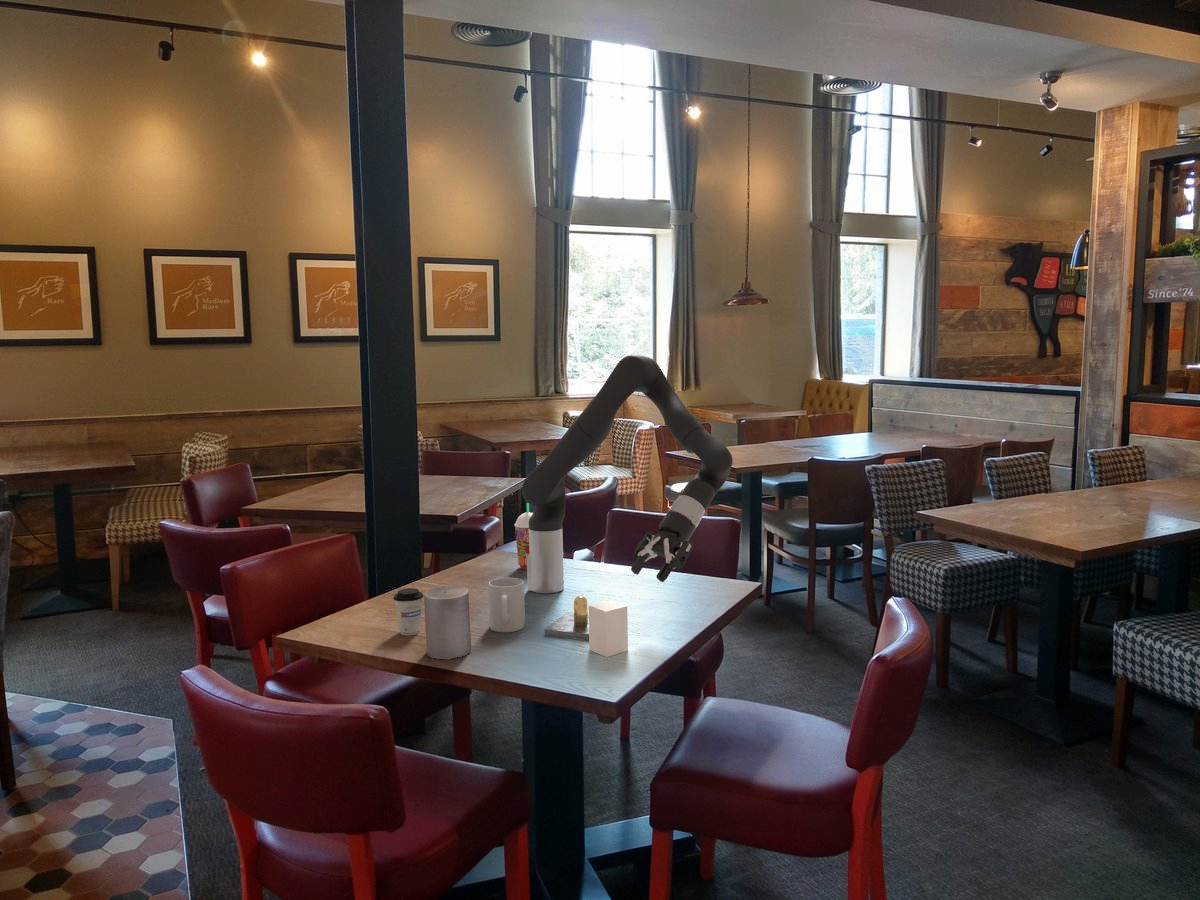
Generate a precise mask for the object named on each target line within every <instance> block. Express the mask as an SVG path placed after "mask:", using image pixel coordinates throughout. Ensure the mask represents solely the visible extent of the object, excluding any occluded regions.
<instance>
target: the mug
mask: <svg viewBox="0 0 1200 900" xmlns="http://www.w3.org/2000/svg"><path fill="white" fill-rule="evenodd" d="M524 583H525V582H524V580H523V579H521V578H517V577H501V578H495V579H492V580H490V581H489V582H488V588H487V589H488V610H489V611H488V612H489V614H488V615H489V616H488V617H489V621H488V622H489V624H488V625H489V629H490V630H491V631H493V632H497V633H513V632H518V631H521V630H523V629H524V628H525V627H526V614H525V613H526V611H525V610H526V608H525V584H524Z"/></svg>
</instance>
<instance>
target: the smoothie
mask: <svg viewBox="0 0 1200 900" xmlns="http://www.w3.org/2000/svg"><path fill="white" fill-rule="evenodd" d="M533 513H534V512H530V504H529V503H527V502H526V512H524V513H521V514H520V515H519V516H518V517H517V519H516V521H515V523H514V531H515V542H516V551H517V552H516V553H517V562H518V563H517V564H518V565H519V567H520V569H521V570H523V571H527V556H529V555H530V549H529V519H530V517H531V516H532V515H533Z"/></svg>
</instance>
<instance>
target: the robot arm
mask: <svg viewBox="0 0 1200 900" xmlns="http://www.w3.org/2000/svg"><path fill="white" fill-rule="evenodd" d="M635 392H636V393H641V394H643V395H644V396H645V397H647V398H648V399H649V400H651V402H652V403H653V404H654V405H655V406H656V408H657V409H658V411H659V412H660V414H661V417H662V418H663V421H664V424H665V426H666V428H667V429H668V431H669V432H670V433H671V434H672V436H673V437H674V438H675V440H676V441H677V442H678V444H679V445H680V446H681V447H682V448H683V449H684V450H685V451H686V452H687V453H689V454H695V456H697V457H698V458H699V460H700V461H701V464H700V465H701V466H700V468H699V469H698V471H697V472H696V474H695V476H694V477H693V478H692V479H690V480H689V481H688V482H687V484H685V487H684V488H683V489H682V491H681V493H680V495H678V497H677V498H676V499H675V501H674V502H673V503H672V505H671V506H670V508H669V510H668V511H667V513H666V514H665V515H664V517H663V519H662V520H661V522H660V523H659V525H658V528H659V530H658V532H657V533H656V534H655V535H654V534H651V532H649V531H648V532H646V533H645V534H644V535H643V537H642V538H641V540H639V543H638V544H637V546H636V547H635V548H634V550H633V552H634V554H635V555H636V556H637V557H636V559H635V561H634V562H633V564H632V565H631V569H630V571H631V572H632V573H633V574H634V575H637V576H638V575H639V574H640V573H641V571H642V570H643V567H644V566H645V565H646V562H648V561H649V560H651V559H652V558H653V559H655V558H657V557H663V558H664V559H665V563H663V564H662V566H661V567H660V569H659V571H658V572H657V574H656V579H657V580H658V581H659V582H660V583H661V582H662V583H665V581H666V580H667V579H668V577H669V576H670V574H671V573H672V571H673V570H675V569H676V568H678V569H682V568H683V567H684V566H685V564H686V562H687V561H688V558H689V556H690V555H691V553H692V551H693V549H694V548H693V546H692V544H691V543H689V540H690V539H691V537H692V535H693V534H694V533H695V531H696V529H697V527H698V526H699V524H700V522H701V521H702V519H703V516H704V515H705V512H706V511H707V510H708V508H709V506H710V505H711V502H712V501H713V499H714V497H715V495H717V493H718V492H719V491H720V489H721V488H722V487H723V486H724V484H725V483H726V481H727V480H728V478H729V476H730V474H731V470H732V465H733V462H734V461H733V456H732V453H731V452H730V450H729V449H728V447H727V446H726V445H725V444H724V443H723V442H721V441H720V439H717V438H716V437H715V436H714V435H712V434H711V433H710V432H708V431H707V430H706V428H705V427H704V426H703V425H702V423H701V422H700V421H699V420H698V419H697V418H696V416H694V415H693V413H692V412H691V411H690V410H689V408H687V406H686V405H685V403H683V401H682V400H681V398H680V397H679V395H678V394H677V393H676V391H675V389H674V388H673V386H672V385H671V384H670V382H669V380H668V379H667V377H666V375H665V373H664V372H663V371H662V369H661V367H660V366H659V364H658V363H657V361H655V360H654V359H653V358H651V357H648V356H645V355H639V354H629V355H626V356H624V357H623V358H621V360H619V362H618V363H617V364H616V365H615V367H614V368H613V369H612V371H611V373H610V374H609V375H608V377H607V379H606V381H605V382H604V384H603V386H602V387H601V388H600V389H599V390H598V392H597V393H596V395H594V397H593V398H592V399H591V401H590V402H589V403H588V404H587V406H586V407H585V408H584V409H583V411H582V412H581V413H580V414H579V415H578V416H577V417H576V419H575V420H574V421H573V422H572V423H571V425H570V426H569V428H568V429H567V430H566V432H565V433H564V434H563V436H562V437H561V438H560V439H559V440H558V441H557V443H556V444H555V446H554V447H553V448H552V450H551V451H550V452H549V454H548V455H547V456H545V458H544V459H543V460H542V461H541V462H540V463H539V464H538V465H537V466H536V467H535V468H534V469H533V470H532V471H530V473H529V474H528V475H527V476H526V477H525V479H524V480H523V483H522V488H521V492H522V498H523V499H524V501H525V502H526V504H527V503H529V505H531V506H535V508H534V511H533V512H532V513H533V515H532V516H531V517H530V519H529V549H530V555H529V556H527V570H526V575H527V577H526V578H527V591H531V592H533V593H537V594H553V593H558V592H562V591H563V590H564V589H565V586H564V585H565V584H564V582H565V580H564V575H565V574H564V546H563V545H564V544H563V543H564V542H563V539H564V538H563V521H564V518H565V513H566V484H565V481H564V478H565V477H566V476H567V475H568V474H569V473H570V472H571V471H572V470H574V469H575V468H577V466H579V465H580V464H582V463H583V462H584V461H586V460H587V459H589V457H590V456H591V455H593V453H595V452H596V451H597V449H598V448H599V447H600V446H601V445H602V443H604V441H606V439H607V438H608V436H609V435H610V432H611V430H612V427H613V425H614V422H615V419H616V418H615V417H616V415H617V413H618V411H619V410H620V408H621V407H622V406H623V404H624V403H625V402H626V401H627V400H628V398H629V397H630V396H632V395H633V394H634V393H635ZM641 549H642V550H641Z"/></svg>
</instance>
